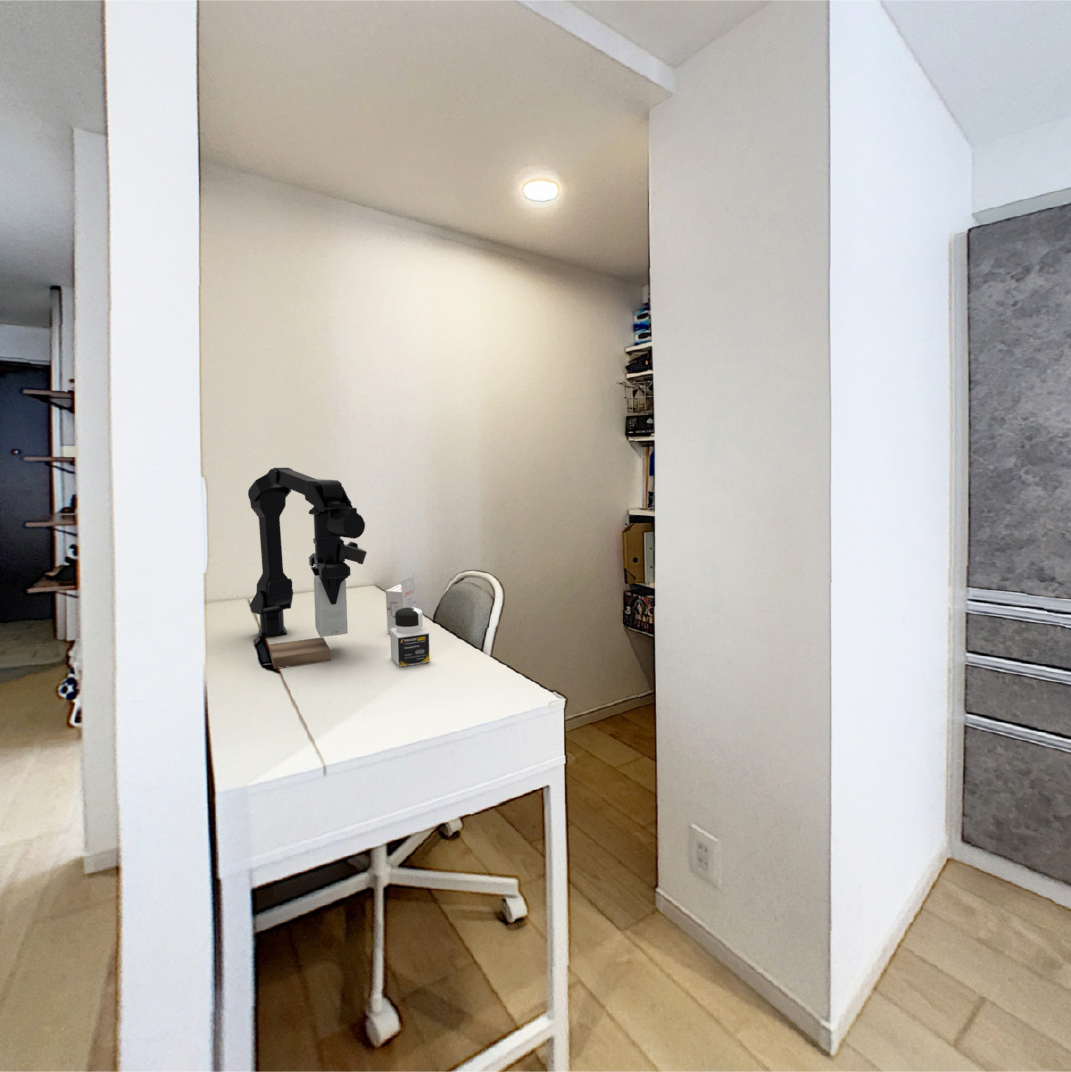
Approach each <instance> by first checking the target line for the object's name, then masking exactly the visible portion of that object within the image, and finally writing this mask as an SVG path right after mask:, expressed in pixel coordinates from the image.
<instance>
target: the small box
mask: <svg viewBox="0 0 1071 1072" xmlns="http://www.w3.org/2000/svg"><path fill="white" fill-rule="evenodd" d="M319 576H320V575H318V576H315V575H313V590H314V591H313V593H314V619H315V621H314V622H315V623H314V625H315V629H316V632H317V634H318V636H319V638H321V637H323V638H324V637H332V636H339V635H341V636H342V635H345V634H348V633H349V632H348V630H349V629H348V608H347V607H348V605H347V580H346V579H345V580H344V581H343V582H342V583H341V585H340V589H339V594H338V598H337V602H336V604H334V605H331V603H330V601H329V599H328V596H327V594H326V592H325V589H324V587H323V585H322V583H321V580H320V578H319Z"/></svg>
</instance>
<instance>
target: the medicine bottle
mask: <svg viewBox="0 0 1071 1072" xmlns="http://www.w3.org/2000/svg"><path fill="white" fill-rule="evenodd" d="M395 623H396V628H392V629H390V634H389V635H390V637H389V638H390V639H389V640H390V658H391V659H392V661H393V662H394V664H396V665H397V666H398V668H403V667H402V666H404V667H407V666H406V665H410V666H414V665H415V664H416V665H421V664H420V663H422V664H427V663H426V662H428V663H429V662H430V632H429V631H428V630H426V629H425V628H424V625H423V624H424V623H423V611H422V609H420V608H418V607H416V608H402V609H400V610H398V611H396V613H395ZM416 665H415V666H416Z"/></svg>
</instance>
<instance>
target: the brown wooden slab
mask: <svg viewBox="0 0 1071 1072" xmlns="http://www.w3.org/2000/svg"><path fill="white" fill-rule="evenodd" d="M268 645H269V656H270V659H271V662H272V666H273V669H274V670H275V669H276V670H277V669H278V670H279V668H278V667H284V668H287V667H286V666H291V667H296V666H297V667H298V666H301V665H302V666H303V665H309V664H317V663H323V662H330V661H332V654H331V653H332V652H331V648H330V646H329V645H328V643H327V641H326V640H325V638H324V637H316V638H315V637H314V638H308V639H307V638H306V639H302V640H301V639H300V640H293V641H285V642H278V643H277V642H275V643H271V644H270V643H269V644H268Z"/></svg>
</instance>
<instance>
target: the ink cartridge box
mask: <svg viewBox="0 0 1071 1072" xmlns="http://www.w3.org/2000/svg"><path fill="white" fill-rule="evenodd" d="M408 581H409V582H408ZM407 582H408V583H407ZM416 600H417V599H416V584H415V576H414V574H413V573H412V574H411V575H408V576H406V577H404V578H402V579H401V580H400V584H397V585H395V586H393V587H391V588H389V589H387V590H385V605H386V606H385V607H386V620H387V621H386V622H387V623H386V626H387V628H386V629H387V634H388V635H390V629H392V628H396V623H395V613H396V611H398V610H400V609H402V608H417V607H416V605H417V604H416V603H417V602H416Z"/></svg>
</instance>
